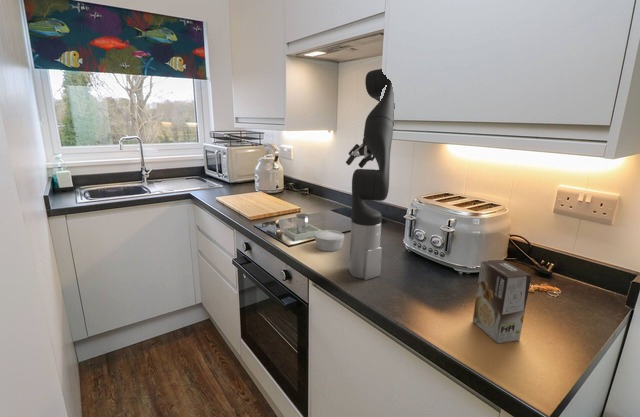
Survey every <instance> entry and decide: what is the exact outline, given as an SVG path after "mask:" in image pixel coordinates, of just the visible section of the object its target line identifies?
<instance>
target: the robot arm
mask: <svg viewBox="0 0 640 417" xmlns="http://www.w3.org/2000/svg"><path fill="white" fill-rule="evenodd" d="M364 82H365V89H366V92H367V94H368V95H369V97H371V98H372V99H374V100H376V101H378V103H377V104H376V105H375V106H374V108H373V109H371V110H370V112H369V113H368V115H367V117H366V118H365V123H364V129H363V137H362V144H358V143H356V144H355V145H354V146H353V147H352V148H351V149H350V150H349V152H348V155H349V157H348V158H347V159H346V161H345V163H346V165H347V166H350V165H351V164H352V163H353V162H354V161H355V159H357V158H359V157H363V158H362V159H361V160H360V162H359V163H358V166H359V168H357V169H355V170H354V171H353V173H352V177H351V178H352V179H351V218H350V219H351V220H350V222H351V223H350V243H349V266H348V267H349V268H348V271H349V272H348V273H349V274H350V276H353V277H354V278H357V279H362V280H364V281H367V280H370V279H371V280H372V279H373V278H377V277H380V276H381V271H382V270H381V269H382V268H381V267H382V253H383V252H382V251H383V247H381V232H382V222H383V221H382V220H383V215H382V213H381V211H379V210H377V209H376V208H375V209H374V208H373V207H371V206H369V205H367V203H366V202H364V201H375V202H382V201H385V200H386V199H387V198H388V194H389V189H390V171H391V170H390V168H391V167H390V166H391V165H390V164H391V163H390V162H391V150H392V142H393V136H394V128H393V126H394V121H395V117H394V109H395V103H394V92H393V87H392V83H391V81H390V80H389V79H387V77H386V75H384V74H383V72H382V68H377V69H372V70H370V71H368V72H367V73H366V75H365V81H364ZM385 85H387V87H386V90H385V93H384V96H383V98H382V99H381V101H380V96H381V92H382V89H383V88H384V87H385ZM394 127H395V126H394ZM374 159H375V161H376V163H377V166H378V169H372V168H371V169H370V168H364V167H365V166H366V164H367V163H368V162H370V161H371V162H373V161H374Z"/></svg>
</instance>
